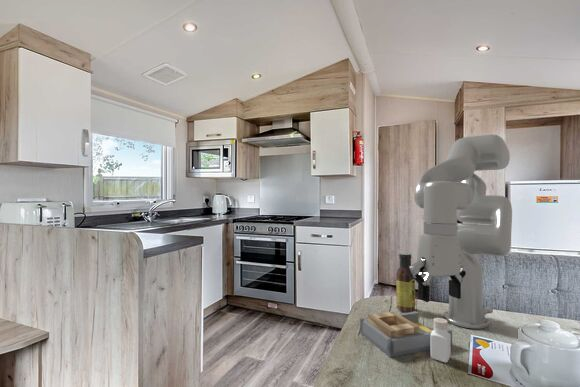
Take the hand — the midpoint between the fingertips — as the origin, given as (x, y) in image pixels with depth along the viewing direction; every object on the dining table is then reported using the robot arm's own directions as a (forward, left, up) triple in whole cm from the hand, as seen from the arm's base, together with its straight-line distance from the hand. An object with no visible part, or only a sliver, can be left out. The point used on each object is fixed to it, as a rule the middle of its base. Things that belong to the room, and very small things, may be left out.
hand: (439, 298), depth 75 cm
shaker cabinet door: (+5, -11, -14) cm, 19 cm away
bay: (+1, -11, -15) cm, 19 cm away
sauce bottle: (-14, -29, -15) cm, 36 cm away
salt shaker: (0, 0, -15) cm, 15 cm away
